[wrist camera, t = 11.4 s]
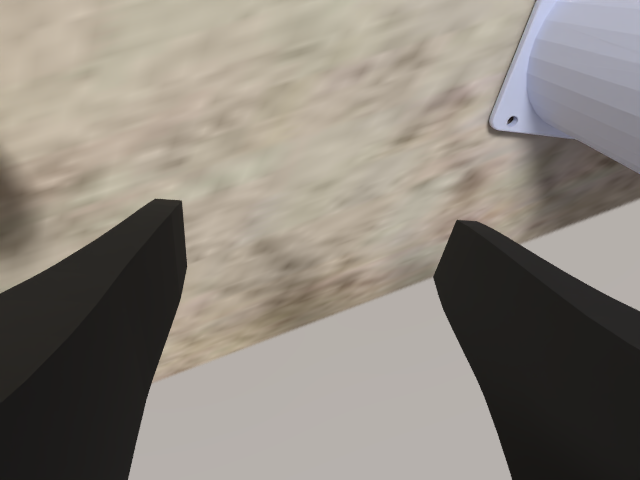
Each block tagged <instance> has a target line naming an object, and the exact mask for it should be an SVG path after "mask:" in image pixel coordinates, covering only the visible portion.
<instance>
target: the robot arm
mask: <svg viewBox="0 0 640 480" xmlns="http://www.w3.org/2000/svg"><path fill="white" fill-rule="evenodd" d="M512 116H514V118H513V120H512V122H511V123H509V124H507V121H508V119H509V118H510V117H512ZM489 123H490V125H491V127H492V128H494V129H496V130H499V131H508V132H517V133H525V134H534V135H543V136H551V137H560V138H569V139H576V140H578V141H580V142H582V143H584V144H586V145H587V146H589V147H591V148H593V149H595V150H596V151H598V152H600V153H602V154H604V155H606V156H607V157H609V158H611V159H613V160H615V161H617V162H618V163H620V164H622V165H624V166H626V167H628V168H629V169H631V170H633V171H635V172H637V173H639V174H640V0H536V3H535V5H534V8H533V10H532V13H531V15H530V18H529V20H528V23H527V25H526V28H525V30H524V33H523V35H522V38H521V40H520V43H519V45H518V48H517V51H516V53H515V56H514V58H513V61H512V63H511V66H510V68H509V71H508V73H507V76H506V78H505V81H504V83H503V86H502V88H501V91H500V93H499V96H498V98H497V101H496V103H495V106H494V108H493V111H492V113H491V116H490V119H489ZM186 269H187V259H186V247H185V234H184V222H183V209H182V201H180V200H166V199H154V200H153V201H151V202H149V203H148V204H146V205H145V206H144V207H142V208H141V209H139V210H138V211H136V212H135V213H134V214H132V215H131V216H129V217H128V218H127V219H125V220H124V221H122V222H121V223H119V224H118V225H117V226H115V227H114V228H112V229H111V230H109V231H108V232H106V233H105V234H103V235H102V236H101V237H99V238H98V239H96V240H95V241H93V242H91V243H90V244H88V245H86V246H85V247H83V248H82V249H80V250H78V251H77V252H75V253H73V254H72V255H70V256H69V257H67V258H65V259H64V260H62V261H60V262H59V263H57V264H56V265H54V266H52V267H50V268H49V269H47V270H45V271H43V272H41V273H39V274H38V275H36V276H34V277H32V278H30V279H28V280H26V281H24V282H22V283H20V284H18V285H16V286H14V287H12V288H10V289H9V290H7V291H5V292H3V293H1V294H0V480H128V476H129V472H130V467H131V463H132V459H133V454H134V450H135V445H136V440H137V436H138V433H139V428H140V424H141V420H142V416H143V411H144V407H145V403H146V399H147V396H148V393H149V389H150V386H151V383H152V380H153V377H154V374H155V371H156V368H157V365H158V363H159V360H160V357H161V354H162V351H163V348H164V346H165V343H166V340H167V337H168V334H169V331H170V329H171V326H172V323H173V320H174V317H175V314H176V311H177V308H178V305H179V302H180V299H181V294H182V289H183V285H184V280H185V274H186ZM433 278H434V281H435V285H436V288H437V291H438V295H439V298H440V301H441V304H442V307H443V310H444V312H445V314H446V316H447V318H448V320H449V322H450V325H451V327H452V329H453V331H454V333H455V335H456V337H457V339H458V341H459V344H460V346H461V348H462V350H463V352H464V354H465V356H466V358H467V360H468V362H469V364H470V366H471V368H472V370H473V372H474V374H475V376H476V378H477V381H478V383H479V385H480V388H481V390H482V392H483V395H484V397H485V400H486V403H487V405H488V408H489V411H490V414H491V417H492V419H493V422H494V425H495V428H496V430H497V433H498V436H499V440H500V443H501V446H502V449H503V452H504V455H505V458H506V461H507V464H508V467H509V470H510V473H511V477H512V480H640V311H638V310H636V309H634V308H632V307H630V306H628V305H626V304H624V303H621V302H619V301H617V300H615V299H613V298H611V297H609V296H607V295H606V294H604V293H602V292H600V291H598V290H596V289H594V288H593V287H591V286H589V285H587V284H585V283H584V282H582V281H580V280H578V279H576V278H575V277H573V276H571V275H569V274H568V273H566V272H564V271H562V270H561V269H559V268H557V267H556V266H554V265H552V264H551V263H549V262H547V261H546V260H544V259H542V258H540V257H539V256H537V255H536V254H534V253H532V252H531V251H529V250H527V249H526V248H524V247H523V246H521V245H519V244H518V243H516V242H514V241H513V240H511V239H509V238H508V237H506V236H504V235H503V234H501V233H499V232H497V231H496V230H494V229H492V228H490V227H488V226H486V225H484V224H482V223H480V222H477V221H464V220H457V221H456V223H455V225H454V228H453V230H452V233H451V235H450V238H449V240H448V242H447V245H446V247H445V250H444V252H443V255H442V257H441V259H440V262H439V264H438V267H437V269H436V272H435V274H434V276H433Z"/></svg>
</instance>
